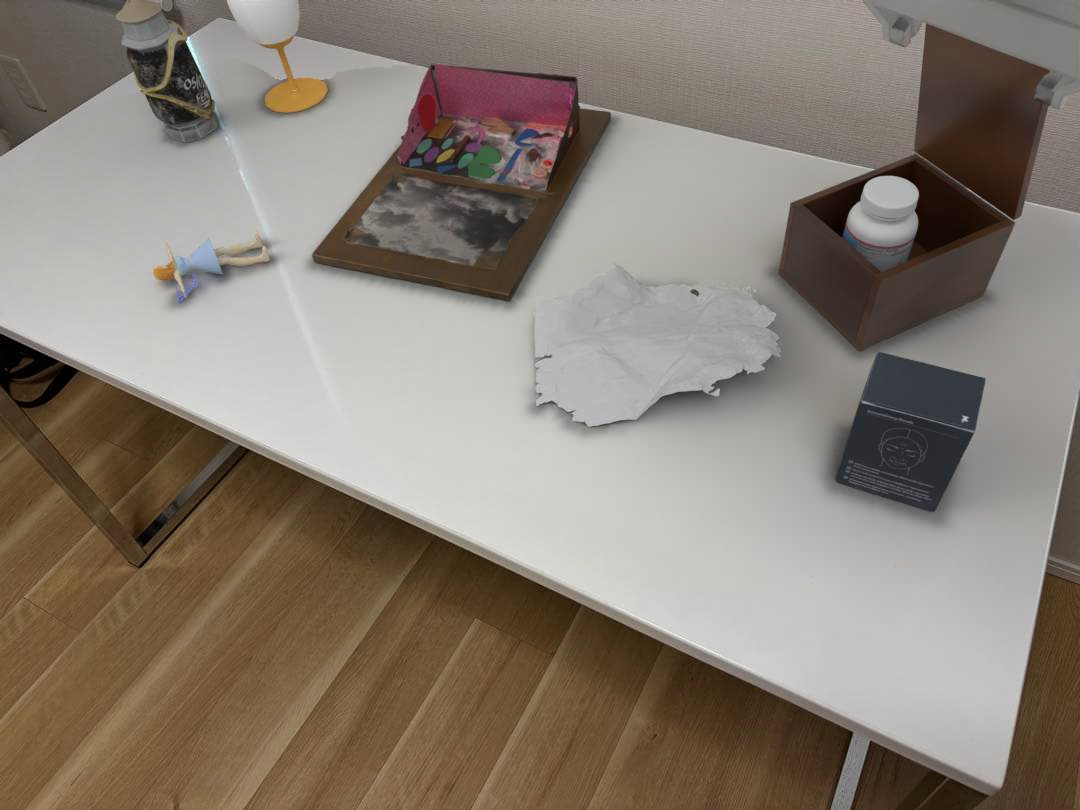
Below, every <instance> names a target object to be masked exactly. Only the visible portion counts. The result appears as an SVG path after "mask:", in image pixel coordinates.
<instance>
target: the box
mask: <svg viewBox="0 0 1080 810" xmlns="http://www.w3.org/2000/svg"><path fill="white" fill-rule="evenodd" d="M986 382H987V379H986V377H984V376H983V377H982V376H978V375H974V374H972V373H971V374H970V373H966V372H962V371H958V370H954V369H950V368H947V367H942V366H938V365H934V364H931V363H926V362H923V361H919V360H914V359H910V358H907V357H902V356H898V355H894V354H890V353H886V352H882V351H877V352H876V354H875V356H874V359H873V362H872V365H871V367H870V370H869V372H868V376H867V378H866V381H865V384H864V388H863V390H862V394H861V396H860V399H859V402H858V405H857V408H856V411H855V414H854V418H853V421H852V424H851V427H850V431H849V434H848V437H847V440H846V443H845V446H844V450H843V453H842V457H841V460H840V462H839V466H838V469H837V472H836V475H835V481H836V482H837V483H839V484H842V485H846V486H848V487H852V488H855V489H859V490H862V491H864V492H867V493H871V494H874V495H878V496H881V497H883V498H887V499H890V500H894V501H896V502H900V503H903V504H907V505H909V506H913V507H916V508H919V509H923V510H926V511H929V512H932V513H935V512H936V510H937V508H938V507H939V505H940V502H941V501H942V498H943V497H944V495H945V493H946V491H947V490H948V489H947V488H948V487H949V485H950V482H951V480H952V479H953V476H954V474H955V473H956V470H957V469H958V467H959V464H960V463H961V461H962V458H963V457H964V454H965V452H966V450H967V449H968V446H969V444H970V442H971V441H972V438H973V436H974V434H975V432H976V429H977V424H978V419H979V415H980V409H981V405H982V400H983V396H984V391H985V386H986Z"/></svg>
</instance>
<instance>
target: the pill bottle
mask: <svg viewBox="0 0 1080 810" xmlns="http://www.w3.org/2000/svg"><path fill="white" fill-rule="evenodd" d="M918 198H919V192H918V189H917V188H916V186H915V185H914V184H913V183H911V182H910V181H908V180H906V179H903V178H900V177H896V176H880V177H876V178H873V179H871V180H870V181H868V182H867V183H866V185H865V186H864V189H863V193H862V195H861V201H860V202H858V203H857V204H856V205H854V206H853V208H852V209H851V210H850V212H849V215H848V218H847V222H846V225H845V230H844V233H843V237H842V239H844V240H845V241H846V242H847V243H848V244H849V245H851V246H852V247H853V248H854V249H855V250H857V251H858V252H859V253H860V254H861V255H862V256H864V257H865V258H866V259H867V260H868V261H869V262H871V263H872V264H873V265H874V266H875V267H876V268H878V269H879V270H880V271H881V272H884V271H886V270H888V269H891V268H893V267H895V266H898V265H900V264H902V263H905V262H907V260H908V257H909V253H910V250H911V247H912V244H913V241H914V238H915V235H916V232H917V228H918V217H917V214H916V212H915V211H914V210H915V209H916V206H917V201H918Z"/></svg>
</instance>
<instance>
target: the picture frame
mask: <svg viewBox="0 0 1080 810" xmlns="http://www.w3.org/2000/svg"><path fill="white" fill-rule="evenodd" d="M578 84H579V83H578V77H576V76H571V75H562V74H557V73H552V74H550V73H549V74H548V73H543V72H525V71H515V70H514V71H513V70H501V69H491V68H478V67H469V66H456V65H445V64H437V63H435V64H430V65H429V67H428V68H427V71H426V73H425V74H424V77H423V79H422V82H421V84H420V87H419V89H418V92H417V96H416V100H415V103H414V105H413V107H412V108H411V109H410V113H409V116H408V118H407V128H406V131H405V133H404V134H403V135H401V136H400V140H401V143H400V144H399V146H398V147H397V148H396V149H395V150H394V152H393V153H392V154H391V156H390V157H389V158H388V159H387V160H386V162H385V163H384V164H383V165H382V167H380V169H379V170H378V171H377V173H376V174H375V175H374V177H373V178H372V179H371V180H370V181H369V183H368V184H367V185H366V186H365V188H364V189H363V190H362V191H361V192H360V194H359V195H358V196H357V198H356V199H355V200H354V201H353V203H352V204H351V205H350V206H349V207H348V208H347V210H346V211H345V212H344V214H343V215H342V216H340V218H339V220H338V221H337V222H336V223H335V225H333V227H332V229H331V230H330V231H329V232H328V234H326V236H325V237H324V239H323V240H322V241H321V242H320V243H319V245H318V246H317V247H316V249H315V250H314V251H313V252H312V254H311V256H312V259H313V262H314V263H319V264H323V265H327V266H331V267H337V268H343V269H349V270H353V271H359V272H363V273H368V274H373V275H379V276H384V277H390V278H393V279H394V278H395V279H400V280H405V281H410V282H414V283H418V284H419V283H420V284H423V285H424V284H425V285H428V286H435V287H439V288H445V289H449V290H454V291H459V292H465V293H469V294H474V295H475V294H476V295H480V296H485V297H490V298H493V299H500V300H504V301H511V299H512V297H513V296H514V294H515V292H516V291H517V288H518V286H519V285H520V283H521V281H522V280H523V277H524V275H525V274H526V272H527V270H528V268H529V267H530V266H531V263H532V261H533V260H534V258H535V256H536V255H537V252H538V251H539V249H540V247H541V245H542V244H543V241H544V240H545V238H546V237H547V235H548V233H549V231H550V229H551V228H552V226H553V224H554V223H555V220H556V218H557V217H558V215H559V213H560V212H561V210H562V208H563V206H564V205H565V202H566V201H567V199H568V198H569V195H570V193H571V192H572V190H573V188H574V186H575V184H576V182H577V181H578V179H579V177H580V176H581V174H582V172H583V170H584V168H585V167H586V165H587V163H588V161H589V159H590V158H591V156H592V154H593V152H594V151H595V149H596V147H597V145H598V144H599V142H600V140H601V138H602V136H603V135H604V133H605V131H606V130H607V128H608V126H609V124H610V123H611V120H612V114H611V112H610V111H605V110H596V109H588V108H581V105H579V104H580V103H579V102H580V101H579V87H578Z"/></svg>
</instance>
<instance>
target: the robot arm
mask: <svg viewBox="0 0 1080 810" xmlns="http://www.w3.org/2000/svg"><path fill="white" fill-rule="evenodd" d="M862 3H863V4H864V5H865V7H866V8H867V10H868V11H869V12H870V13H871V14H872V15H873V17H874V18H875V20H876V21H877V23H879V24H880V25H881V30H882V40H883V41H886V42H889V43H892V44H894V45H897V46H898V47H899V46H900V47H902V48H907V47H908V46H909V45H910V44H911V42H912V38H913V37H916V36H917V34H918V32H919V31H920V29H921V27H922V24H923V23H924V24H926V23H927V24H929V25H932V26H934V27H937V28H940V29H942V30H945V31H947V32H950V33H953V34H955V35H958V36H961V37H963V38H966V39H968V40H971V41H974V42H976V43H979V44H982V45H984V46H987V47H989V48H992V49H995V50H997V51H1000V52H1003V53H1005V54H1008V55H1010V56H1013V57H1016V58H1018V59H1021V60H1024V61H1026V62H1029V63H1031V64H1034V65H1037V66H1039V67H1042V68H1045V69H1047V70H1050V71H1049V74H1047V75H1045V76H1044V77H1043V79H1042V80H1041V81H1040V83H1039V84H1038V85H1037V89H1036V93H1037V94H1036V95H1035V96H1034V100H1037V101H1039V102H1042V103H1044V104H1046V105H1049V107H1050V108H1053V109H1056V110H1061V109H1062V108H1063V107H1064V106H1065V104H1066V103H1067V102H1068V100H1069V99H1070V98H1071V97H1072V96H1073V94H1076V93H1079V92H1080V0H862Z"/></svg>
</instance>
